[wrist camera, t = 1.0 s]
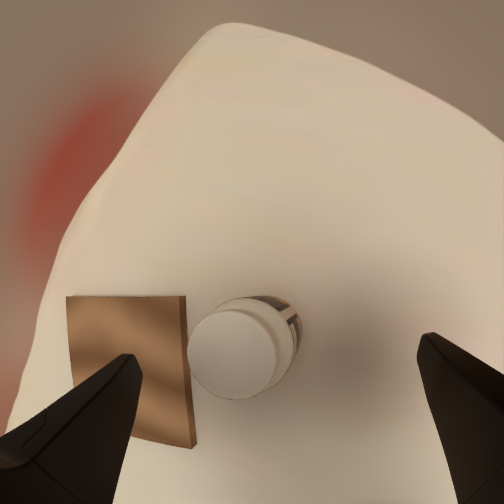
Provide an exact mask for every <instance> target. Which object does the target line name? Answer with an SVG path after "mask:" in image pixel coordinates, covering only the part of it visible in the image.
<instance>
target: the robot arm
mask: <svg viewBox="0 0 504 504" xmlns="http://www.w3.org/2000/svg"><path fill="white" fill-rule="evenodd" d="M417 362H418V366H419V370H420V374H421V378H422V382H423V386H424V390H425V394H426V398H427V401H428V404H429V407H430V410H431V413H432V416H433V419H434V422H435V425H436V428H437V431H438V434H439V437H440V440H441V443H442V446H443V450H444V453H445V456H446V460H447V463H448V467H449V470H450V474H451V477H452V481H453V485H454V489H455V493H456V497H457V501H458V504H504V375H503V374H502V373H500V372H499V371H497V370H496V369H494V368H492V367H491V366H489V365H487V364H486V363H484V362H483V361H481V360H479V359H478V358H476V357H475V356H473V355H471V354H470V353H468V352H466V351H465V350H463V349H462V348H460V347H458V346H457V345H455V344H453V343H452V342H450V341H448V340H447V339H445V338H444V337H442V336H440V335H439V334H437V333H435V332H431V333H425V334H423V335H422V336H421V340H420V344H419V348H418V351H417ZM142 380H143V373H142V370H141V368H140V365H139V363H138V361H137V359H136V356H135V355H134V354H130V353H122V354H120V355H119V356H118V357H116V358H115V359H113V360H112V361H111V362H109V363H108V364H107V365H105V366H104V367H102V368H101V369H100V370H98V371H97V372H95V373H94V374H93V375H91V376H90V377H89V378H87V379H86V380H84V381H83V382H82V383H80V384H79V385H77V386H76V387H75V388H73V389H72V390H70V391H69V392H68V393H66V394H65V395H64V396H62V397H61V398H59V399H58V400H57V401H55V402H54V403H52V404H51V405H50V406H48V407H47V409H46V408H45V409H44V410H43V411H41V412H40V413H38V414H37V415H35V416H34V417H33V418H31V419H30V420H28V421H27V422H25V423H23V424H22V425H20V426H18V427H17V428H15V429H13V430H12V431H10V432H8V433H6V434H5V435H3V436H1V437H0V504H112V503H113V499H114V495H115V491H116V487H117V483H118V479H119V475H120V471H121V468H122V464H123V460H124V457H125V453H126V449H127V446H128V442H129V439H130V435H131V432H132V428H133V425H134V421H135V417H136V413H137V407H138V402H139V396H140V391H141V386H142Z"/></svg>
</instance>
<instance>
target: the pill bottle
mask: <svg viewBox="0 0 504 504" xmlns="http://www.w3.org/2000/svg"><path fill="white" fill-rule="evenodd" d="M301 338H302V327H301V322H300V319H299V317H298V315H297V313H296V312H295V310H294V309H293V308H292V307H291V306H290V305H289V304H288V303H286V302H285V301H283V300H281V299H279V298H276V297H272V296H253V297H246V298H237V299H233V300H230V301H227V302H225V303H224V304H222V305H220V306H219V307H217V308H216V309H215V310H214V311H213V312H212V313H211V314H210V315H209V316H207V317H206V318H204V319H203V320H202V321H200V322H199V323H198V325H197V326H196V327H195V328H194V330H193V332H192V334H191V336H190V339H189V342H188V347H187V357H188V363H189V366H190V369H191V371H192V373H193V375H194V377H195V378H196V380H197V381H198V382H199V384H200V385H201V386H202V387H203V388H205V389H206V390H207V391H209V392H210V393H212V394H214V395H216V396H218V397H221V398H224V399H230V400H241V399H246V398H249V397H252V396H254V395H256V394H258V393H259V392H261V391H262V390H265V389H267V388H269V387H271V386H273V385H274V384H276V383H277V382H278V381H279V380H280V379H281V378H282V377H283V376H284V374H285V373H286V372H287V370H288V368H289V366H290V364H291V362H292V360H293V358H294V356H295V354H296V352H297V350H298V348H299V346H300V343H301Z"/></svg>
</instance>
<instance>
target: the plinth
mask: <svg viewBox="0 0 504 504" xmlns="http://www.w3.org/2000/svg"><path fill="white" fill-rule="evenodd" d="M66 312H67V329H68V342H69V352H70V361H71V370H72V377H73V384H74V388H75V387H76V386H77V385H79V384H80V383H82V382H83V381H84V380H86V379H87V378H89V377H90V376H91V375H93V374H94V373H95V372H97V371H98V370H100V369H101V368H102V367H104V366H105V365H107V364H108V363H109V362H111V361H112V360H113V359H115V358H116V357H118V356H119V355H120V354H122V353H130V354H134V355H135V356H136V359H137V361H138V363H139V365H140V368H141V370H142V373H143V380H142V386H141V391H140V396H139V402H138V407H137V413H136V417H135V421H134V425H133V428H132V432H131V435H130V436H132V437H136V438H140V439H144V440H148V441H153V442H157V443H162V444H166V445H171V446H176V447H182V448H187V449H192V448H193V447H194V446H195V445H196V444H197V441H196V432H195V423H194V414H193V404H192V393H191V382H190V370H189V363H188V357H187V347H188V341H187V323H186V302H185V296H177V297H66Z"/></svg>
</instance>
